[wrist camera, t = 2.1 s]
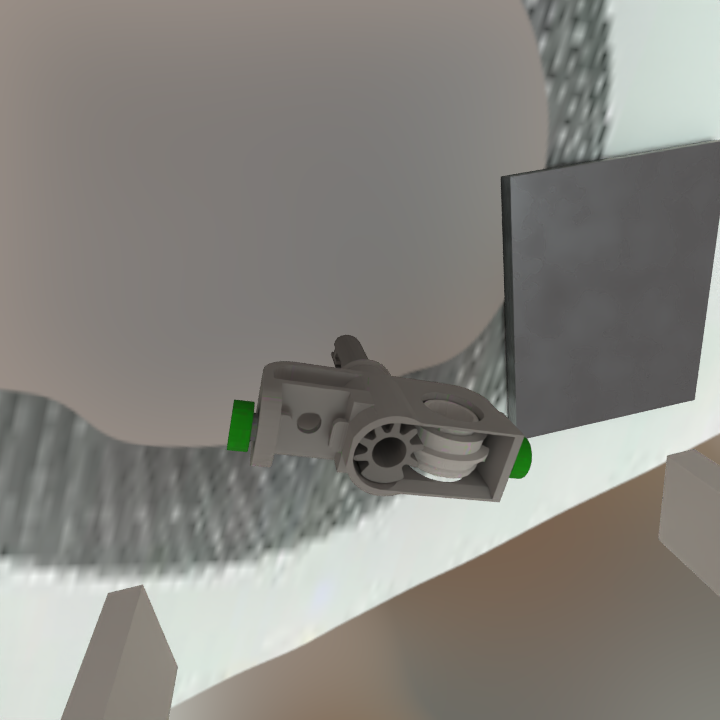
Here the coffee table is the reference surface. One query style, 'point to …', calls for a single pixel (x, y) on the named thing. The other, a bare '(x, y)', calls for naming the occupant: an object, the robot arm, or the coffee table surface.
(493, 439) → the mechanical component
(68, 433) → the coffee table surface
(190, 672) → the coffee table surface
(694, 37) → the coffee table surface
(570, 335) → the plate
